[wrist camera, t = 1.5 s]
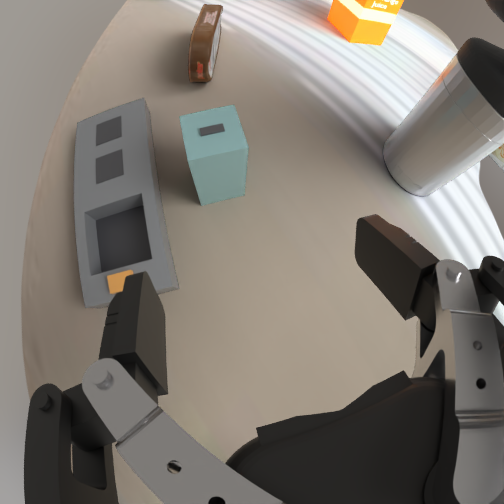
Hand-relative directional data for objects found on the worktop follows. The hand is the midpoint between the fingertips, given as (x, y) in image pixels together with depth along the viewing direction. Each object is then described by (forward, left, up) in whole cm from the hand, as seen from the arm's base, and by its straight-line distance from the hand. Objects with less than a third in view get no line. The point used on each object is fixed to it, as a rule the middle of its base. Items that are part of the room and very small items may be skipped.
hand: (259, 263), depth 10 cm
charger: (-7, -9, -16) cm, 20 cm away
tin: (-21, -24, -17) cm, 36 cm away
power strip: (+1, -17, -16) cm, 23 cm away
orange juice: (-49, -14, -17) cm, 54 cm away
